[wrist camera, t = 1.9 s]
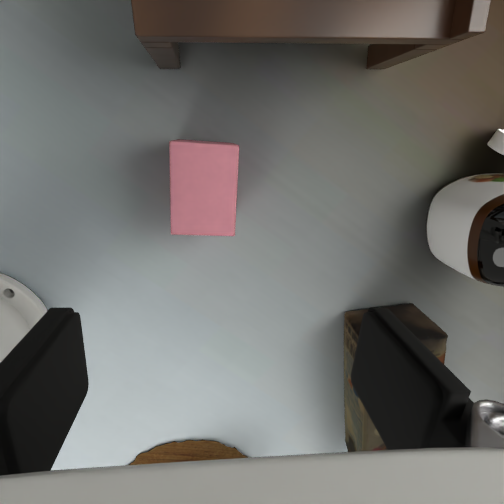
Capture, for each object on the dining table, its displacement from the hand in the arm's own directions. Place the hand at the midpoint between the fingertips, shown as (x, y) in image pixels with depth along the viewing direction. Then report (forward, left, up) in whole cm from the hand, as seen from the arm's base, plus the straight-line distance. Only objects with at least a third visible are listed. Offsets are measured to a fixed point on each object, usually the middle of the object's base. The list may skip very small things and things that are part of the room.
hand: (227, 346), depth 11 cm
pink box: (-1, +3, -20) cm, 20 cm away
